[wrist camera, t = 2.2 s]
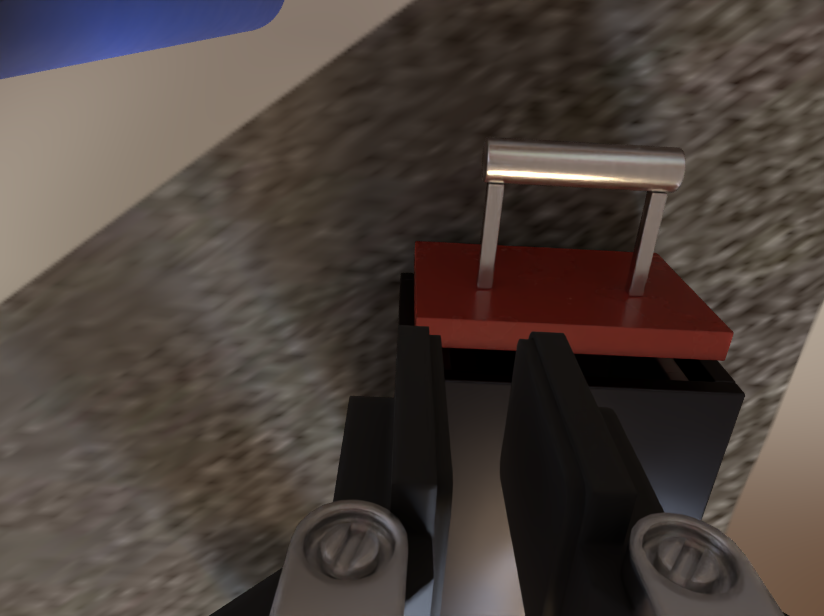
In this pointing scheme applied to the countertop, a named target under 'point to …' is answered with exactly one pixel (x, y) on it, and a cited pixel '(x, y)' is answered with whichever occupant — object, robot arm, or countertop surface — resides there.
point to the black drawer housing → (629, 398)
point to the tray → (568, 274)
